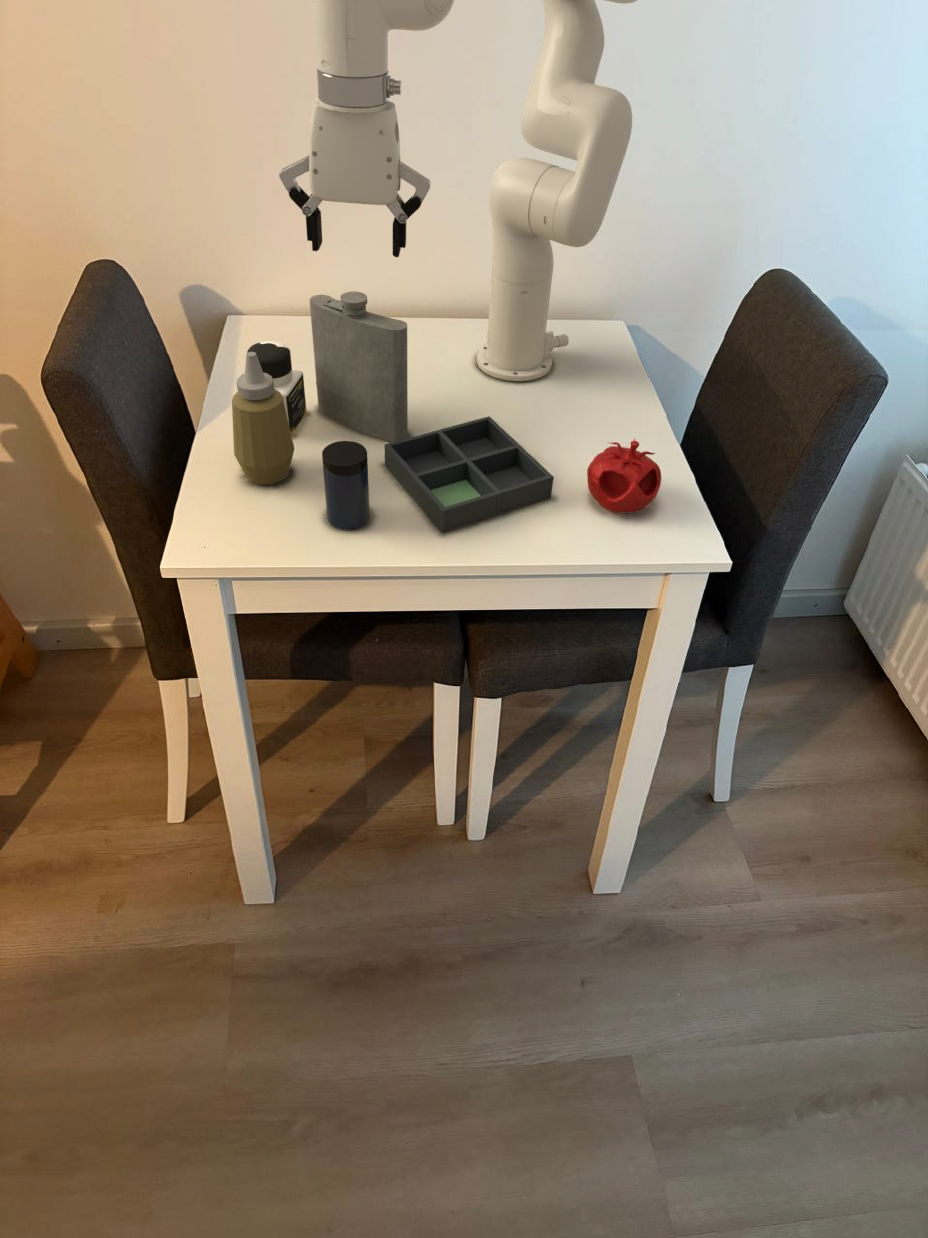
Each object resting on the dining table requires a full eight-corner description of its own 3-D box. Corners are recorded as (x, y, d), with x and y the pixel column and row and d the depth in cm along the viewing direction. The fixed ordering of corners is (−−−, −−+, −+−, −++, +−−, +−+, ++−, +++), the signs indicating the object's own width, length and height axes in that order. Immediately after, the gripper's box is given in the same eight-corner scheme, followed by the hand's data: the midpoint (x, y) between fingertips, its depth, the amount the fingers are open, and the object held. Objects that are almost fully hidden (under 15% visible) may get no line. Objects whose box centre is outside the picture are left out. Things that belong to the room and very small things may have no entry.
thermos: (358, 499, 120) (355, 436, 113) (376, 522, 117) (374, 458, 110) (320, 511, 118) (314, 447, 111) (337, 534, 115) (333, 470, 108)
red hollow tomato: (578, 478, 126) (587, 421, 120) (647, 478, 127) (659, 421, 120) (590, 521, 119) (600, 463, 113) (663, 521, 120) (677, 463, 113)
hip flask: (411, 435, 132) (411, 305, 118) (395, 447, 130) (394, 316, 116) (327, 401, 138) (318, 274, 124) (310, 413, 136) (299, 284, 122)
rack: (487, 437, 133) (489, 415, 130) (551, 498, 122) (554, 476, 120) (384, 465, 126) (384, 444, 124) (442, 533, 116) (442, 511, 113)
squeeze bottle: (270, 497, 120) (253, 376, 107) (225, 477, 123) (204, 357, 110) (308, 469, 125) (297, 350, 112) (264, 450, 128) (248, 332, 115)
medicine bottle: (291, 437, 130) (283, 362, 122) (245, 430, 131) (234, 355, 123) (307, 412, 136) (300, 339, 127) (262, 406, 136) (253, 332, 128)
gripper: (435, 86, 99) (430, 243, 110) (279, 75, 99) (291, 233, 110) (430, 104, 93) (426, 267, 105) (265, 91, 93) (279, 256, 105)
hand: (357, 249), depth 107 cm, fingers open, 9 cm apart
